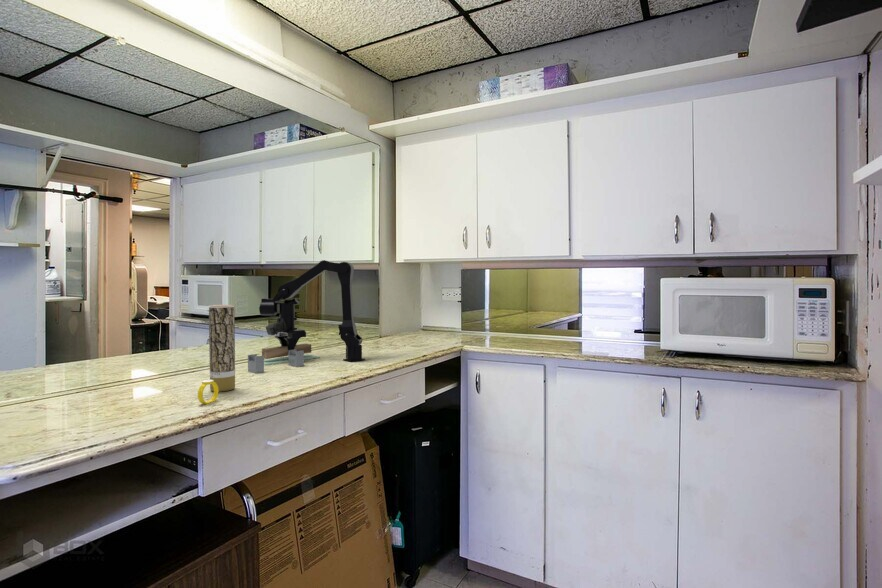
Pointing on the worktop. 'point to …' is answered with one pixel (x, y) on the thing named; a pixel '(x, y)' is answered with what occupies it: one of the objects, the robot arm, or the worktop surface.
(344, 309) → the robot arm
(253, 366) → the post
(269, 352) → the rail
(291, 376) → the worktop surface
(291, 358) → the post
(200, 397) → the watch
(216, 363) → the brown tall cylinder
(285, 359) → the mat
